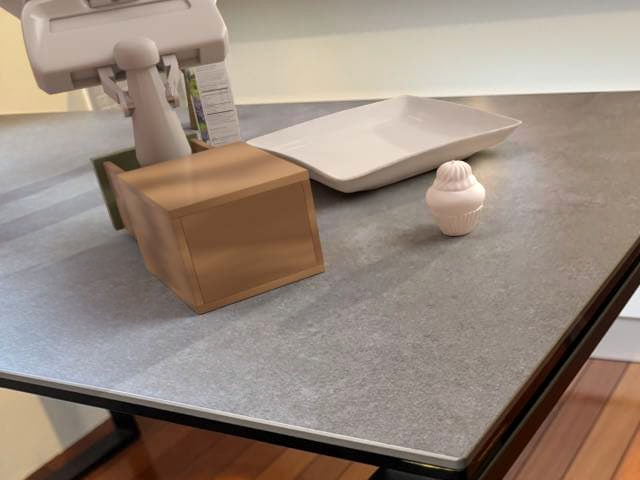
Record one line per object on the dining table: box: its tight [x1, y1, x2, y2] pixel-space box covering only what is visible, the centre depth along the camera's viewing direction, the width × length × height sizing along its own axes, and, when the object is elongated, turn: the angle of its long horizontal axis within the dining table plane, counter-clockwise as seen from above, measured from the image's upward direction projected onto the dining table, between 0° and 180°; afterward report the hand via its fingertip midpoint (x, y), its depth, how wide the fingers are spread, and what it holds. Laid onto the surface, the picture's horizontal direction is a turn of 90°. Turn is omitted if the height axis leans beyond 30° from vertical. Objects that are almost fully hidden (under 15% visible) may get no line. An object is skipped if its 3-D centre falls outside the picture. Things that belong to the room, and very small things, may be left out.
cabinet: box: [116, 140, 326, 315], centre depth 80 cm, size 16×14×10 cm
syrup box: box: [184, 59, 243, 147], centre depth 116 cm, size 6×6×14 cm
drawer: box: [89, 130, 216, 240], centre depth 91 cm, size 19×12×8 cm, turn 32°
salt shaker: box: [113, 37, 192, 168], centre depth 84 cm, size 6×6×13 cm
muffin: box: [425, 160, 486, 237], centre depth 82 cm, size 6×6×7 cm
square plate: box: [244, 94, 523, 194], centre depth 106 cm, size 27×27×4 cm
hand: (152, 109), depth 83 cm, fingers closed on salt shaker, 3 cm apart
